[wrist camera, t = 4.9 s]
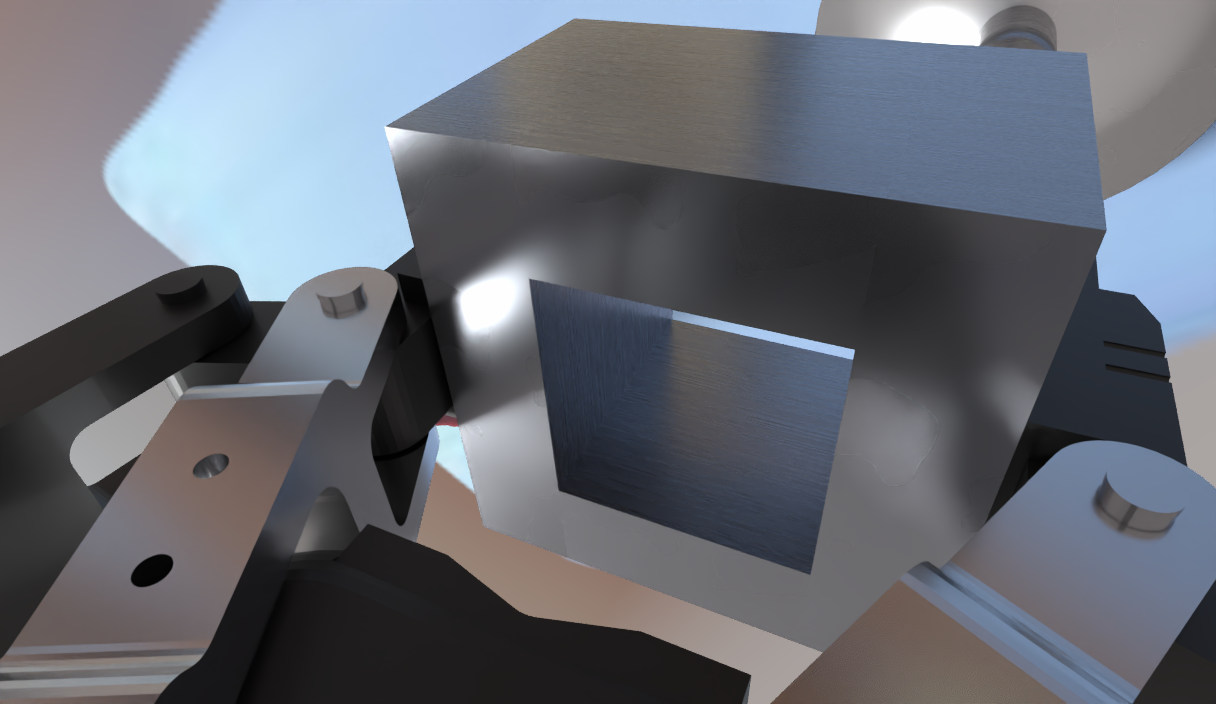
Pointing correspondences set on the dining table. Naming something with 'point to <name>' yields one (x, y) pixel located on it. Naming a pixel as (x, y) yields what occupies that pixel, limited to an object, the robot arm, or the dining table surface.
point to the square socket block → (750, 298)
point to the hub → (1116, 53)
